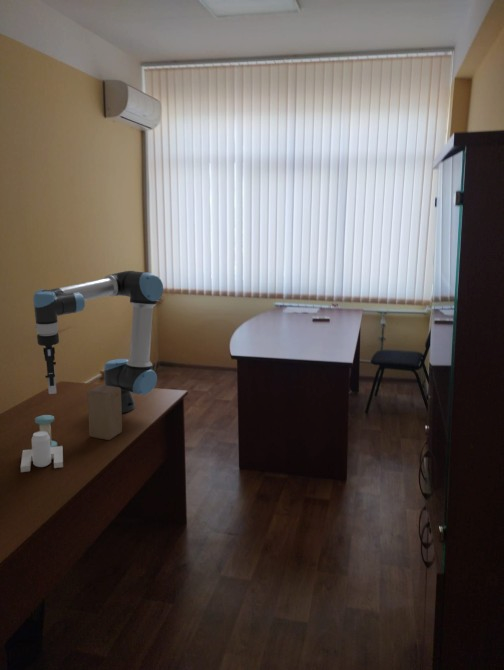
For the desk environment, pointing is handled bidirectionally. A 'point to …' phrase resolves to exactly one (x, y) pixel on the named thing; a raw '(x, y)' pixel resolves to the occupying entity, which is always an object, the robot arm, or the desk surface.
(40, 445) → the beverage can
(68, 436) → the desk surface
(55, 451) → the u-shaped block
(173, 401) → the desk surface
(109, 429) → the wooden block
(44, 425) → the bobbin
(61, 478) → the desk surface
